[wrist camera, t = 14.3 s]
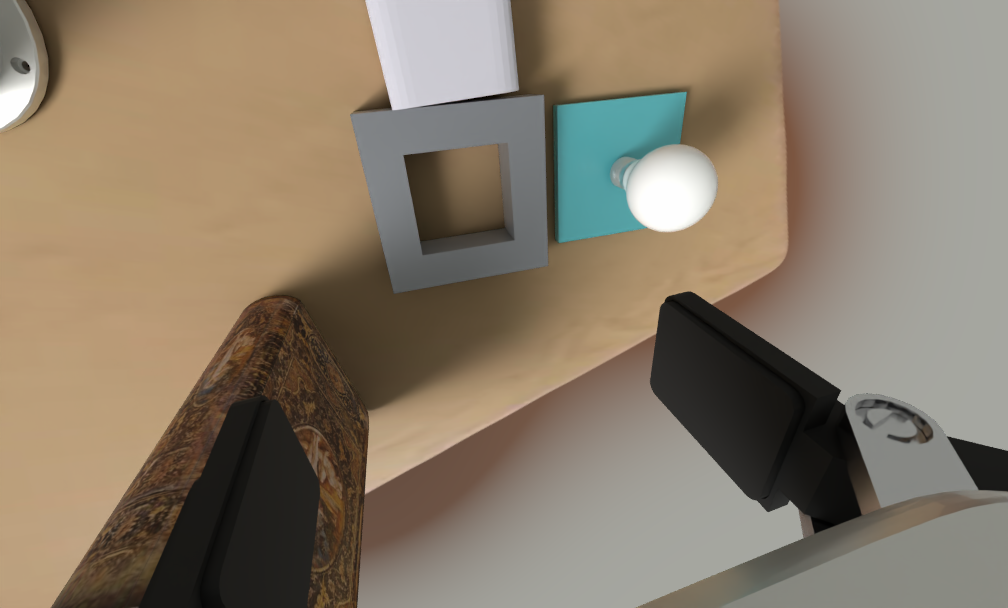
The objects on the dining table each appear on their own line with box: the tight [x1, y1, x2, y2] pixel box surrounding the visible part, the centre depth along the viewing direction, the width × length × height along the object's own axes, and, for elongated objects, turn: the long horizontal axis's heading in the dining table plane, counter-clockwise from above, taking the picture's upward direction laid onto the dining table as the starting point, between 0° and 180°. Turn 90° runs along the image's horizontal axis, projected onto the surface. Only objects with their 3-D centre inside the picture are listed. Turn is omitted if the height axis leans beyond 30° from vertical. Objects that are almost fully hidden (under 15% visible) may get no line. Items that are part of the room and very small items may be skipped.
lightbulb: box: [610, 144, 718, 232], centre depth 32 cm, size 6×6×11 cm
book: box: [51, 296, 369, 608], centre depth 29 cm, size 16×6×25 cm, turn 15°
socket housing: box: [350, 94, 548, 294], centre depth 34 cm, size 14×14×4 cm
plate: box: [553, 92, 687, 243], centre depth 37 cm, size 12×12×1 cm
